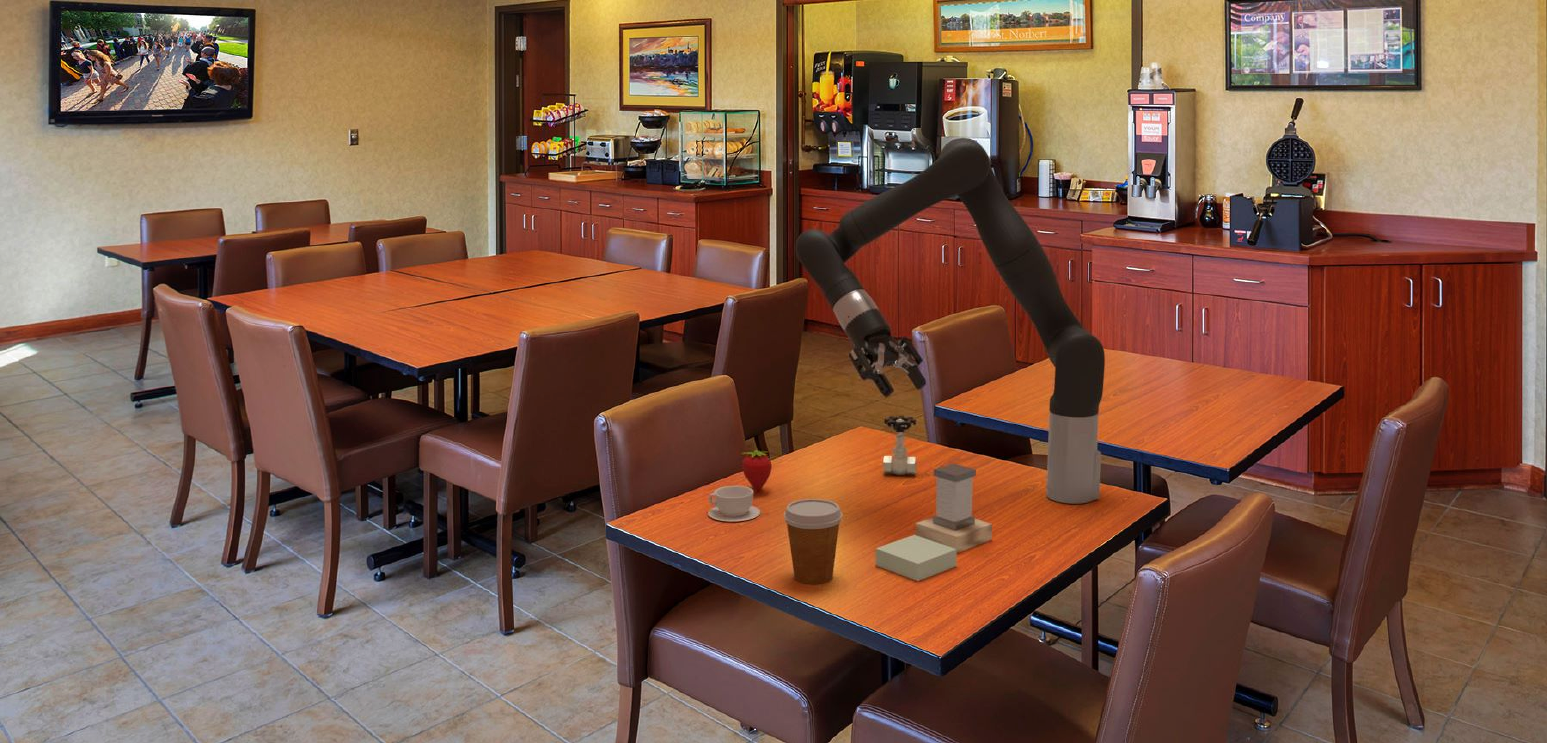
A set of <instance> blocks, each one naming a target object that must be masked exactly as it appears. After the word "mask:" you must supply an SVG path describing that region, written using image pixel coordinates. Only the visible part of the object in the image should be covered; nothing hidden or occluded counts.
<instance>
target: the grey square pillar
mask: <svg viewBox="0 0 1547 743" xmlns="http://www.w3.org/2000/svg"><path fill="white" fill-rule="evenodd" d="M933 476H934V477H935V478H936V498H935V499H936V503H935V504H936V505H935V507H936V510H935V516H932V517H933V524H936V525H939V526H942V527H945V528H948V529H951V530H955V531H956V530H959V529H962V528H965V527H967V526H970V525H973V524H975V519H976V517H975V516H973V481H974V480H973V478H975V477H976V476H977V469H976V468H971V467H969V466H964V465H961V464H957V463H953V462H952V463H950V464H946V465H944V466H939V467H936V468H933Z"/></svg>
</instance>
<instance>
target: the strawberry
mask: <svg viewBox="0 0 1547 743" xmlns="http://www.w3.org/2000/svg"><path fill="white" fill-rule="evenodd" d="M755 448H756V449H755V450H753V452H752V451H750V452H748V451H747V452H742V453H741V454H742V455H746V456H745V457H744V458H743V460H742V463H741V467H742V472H743V474H744V476H745V478H746V480H747V481H748V483H749V484H750V485H751V486H752V488H753V489H754V491H755V492H757V493H758V492H761V491H762V489H763V487H764V486H765V485H766V483H767V482H768V480H769V478H770V476H771V471H772V468H773V465H772V461H771V460H770V458H769V457H768V454H766V453H768V452H769V451H767V450H766V451H760V450H758V447H755Z"/></svg>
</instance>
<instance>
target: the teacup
mask: <svg viewBox="0 0 1547 743" xmlns="http://www.w3.org/2000/svg"><path fill="white" fill-rule="evenodd" d="M713 497H714V500H715V501H714V500H713ZM753 498H754V490H753V489H752V488H751V487H748V486H745V485H725V486H721V487H718V488H716V489H715V490H714V492H712V493H710V494H709V496H708V500H709V503H710V504H711V505H712V506H715V507H712V508H711V509H709V510H708V512H707V515H708V517H709V518H712V519H714V520H717V521H722V522H744V521H748V520H753V519H755V518H757V517H759V515H761V510H760V508H758V507H756V506H754V505H752V504H753V500H754V499H753Z"/></svg>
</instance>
